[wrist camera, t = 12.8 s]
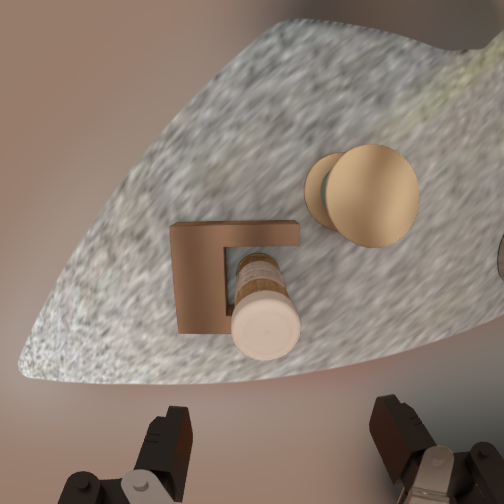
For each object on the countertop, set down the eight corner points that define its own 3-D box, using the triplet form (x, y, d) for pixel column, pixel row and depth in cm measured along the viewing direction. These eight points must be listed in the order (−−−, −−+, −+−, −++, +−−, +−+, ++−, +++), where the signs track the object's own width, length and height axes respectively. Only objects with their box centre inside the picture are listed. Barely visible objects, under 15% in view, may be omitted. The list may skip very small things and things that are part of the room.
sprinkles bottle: (269, 299, 33) (284, 370, 20) (229, 284, 32) (220, 351, 19) (286, 260, 32) (313, 313, 19) (245, 245, 31) (245, 290, 18)
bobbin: (376, 156, 29) (419, 149, 21) (374, 230, 31) (416, 247, 22) (303, 151, 29) (327, 140, 21) (303, 230, 31) (326, 248, 22)
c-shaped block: (294, 220, 31) (299, 224, 28) (291, 319, 33) (295, 332, 30) (176, 222, 31) (169, 226, 28) (183, 321, 33) (178, 333, 30)
